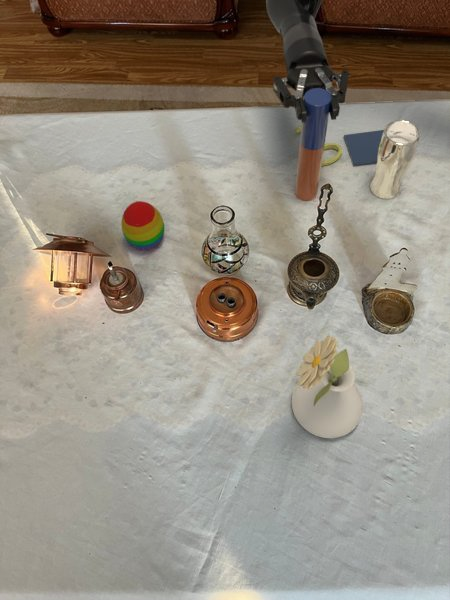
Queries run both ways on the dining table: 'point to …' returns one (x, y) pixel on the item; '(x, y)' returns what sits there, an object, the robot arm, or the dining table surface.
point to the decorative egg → (142, 225)
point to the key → (327, 146)
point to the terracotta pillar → (308, 173)
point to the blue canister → (315, 118)
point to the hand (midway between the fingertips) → (319, 116)
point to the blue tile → (363, 147)
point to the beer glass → (394, 157)
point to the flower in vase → (327, 392)
